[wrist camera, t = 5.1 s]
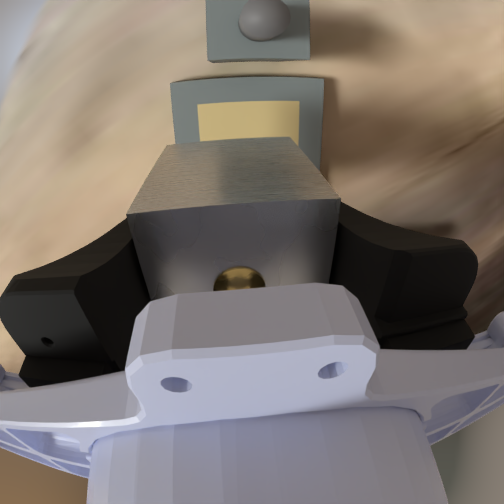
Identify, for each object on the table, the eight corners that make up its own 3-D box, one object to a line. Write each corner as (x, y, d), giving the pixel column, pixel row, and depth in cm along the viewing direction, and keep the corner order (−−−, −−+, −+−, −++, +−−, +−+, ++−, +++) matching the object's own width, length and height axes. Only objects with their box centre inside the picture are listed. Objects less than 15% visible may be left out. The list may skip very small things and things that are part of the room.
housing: (286, 238, 15) (319, 338, 10) (183, 246, 14) (168, 350, 9) (289, 136, 12) (341, 199, 7) (166, 145, 11) (125, 215, 6)
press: (312, 262, 25) (345, 349, 18) (196, 270, 24) (190, 364, 17) (325, 21, 14) (401, 0, 7) (170, 23, 14) (127, -8, 6)
